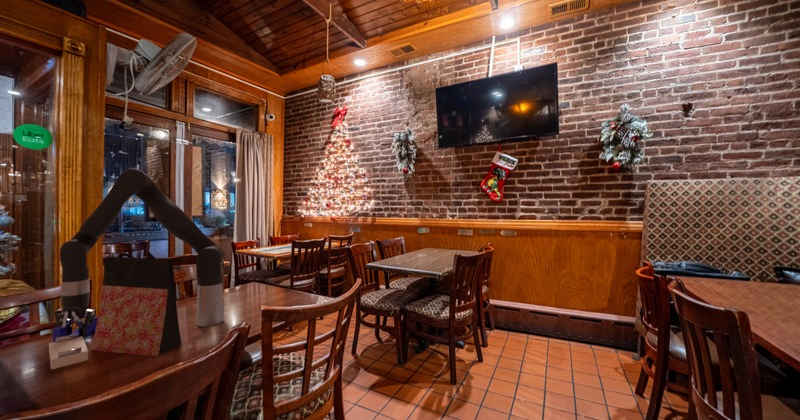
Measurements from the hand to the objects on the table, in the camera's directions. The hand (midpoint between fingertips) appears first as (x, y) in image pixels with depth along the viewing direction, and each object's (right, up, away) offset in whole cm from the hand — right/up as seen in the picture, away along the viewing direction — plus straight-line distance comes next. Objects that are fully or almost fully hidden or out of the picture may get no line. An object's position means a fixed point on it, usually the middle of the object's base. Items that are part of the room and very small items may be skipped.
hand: (75, 336), depth 117 cm
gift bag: (+30, -2, -7) cm, 31 cm away
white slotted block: (+12, -1, -13) cm, 18 cm away
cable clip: (0, -1, 0) cm, 1 cm away
